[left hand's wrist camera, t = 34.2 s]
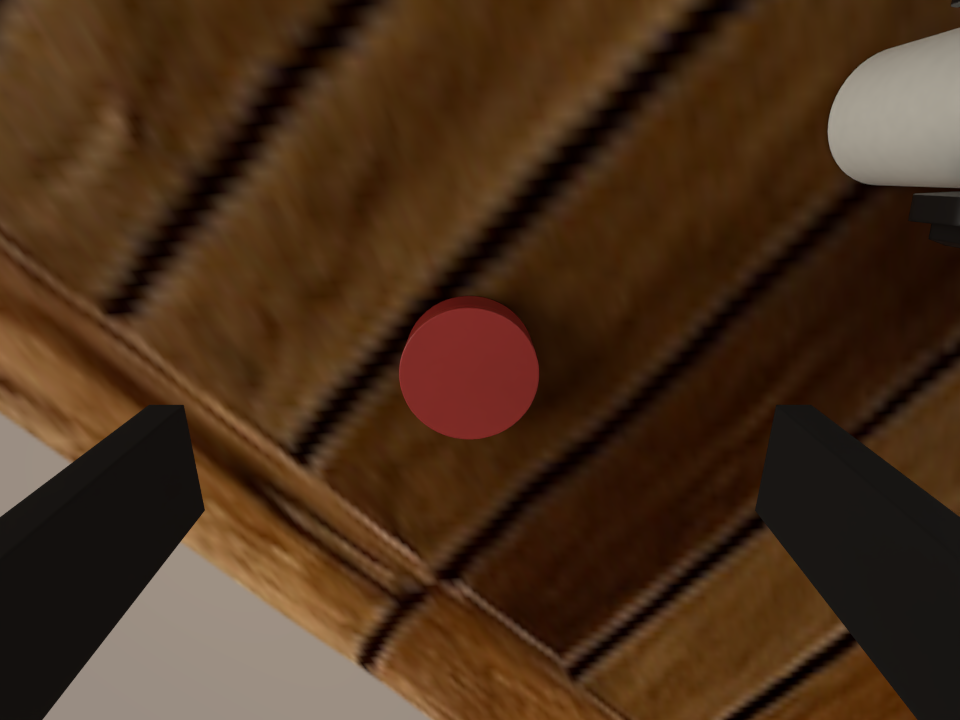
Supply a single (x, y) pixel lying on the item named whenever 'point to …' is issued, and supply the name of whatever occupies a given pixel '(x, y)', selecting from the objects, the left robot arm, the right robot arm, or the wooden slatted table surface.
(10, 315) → the wooden slatted table surface
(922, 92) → the white bottle
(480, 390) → the lid
